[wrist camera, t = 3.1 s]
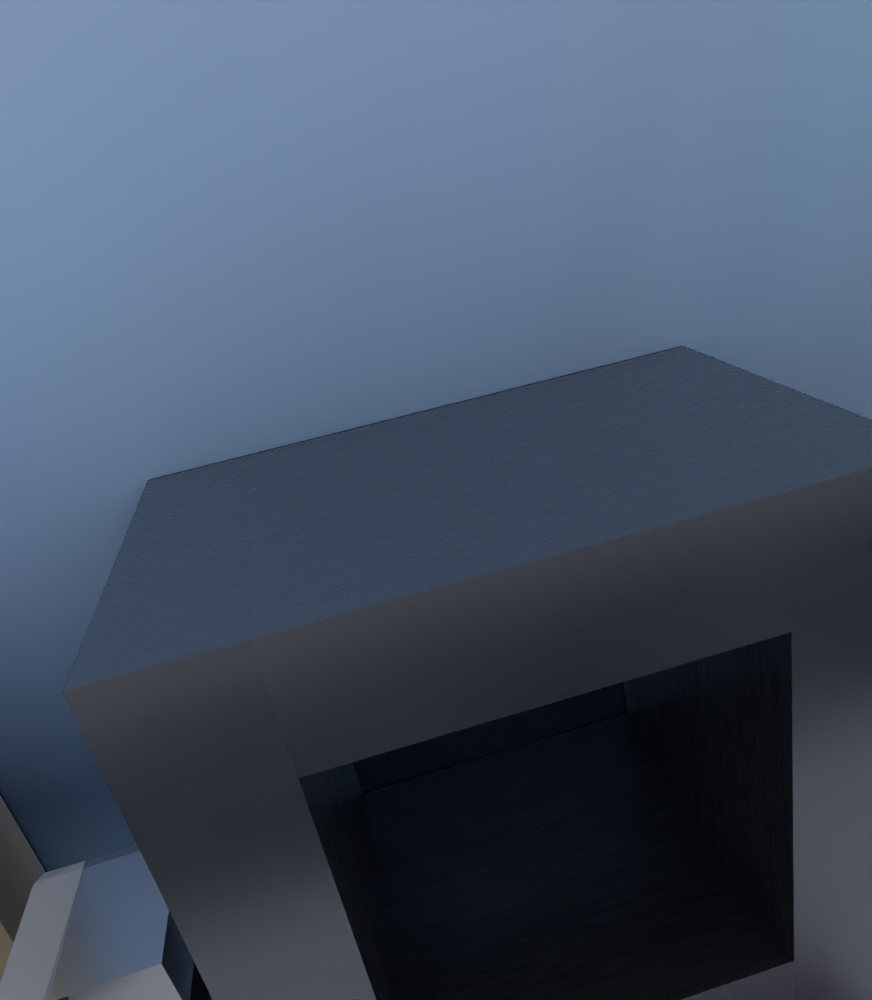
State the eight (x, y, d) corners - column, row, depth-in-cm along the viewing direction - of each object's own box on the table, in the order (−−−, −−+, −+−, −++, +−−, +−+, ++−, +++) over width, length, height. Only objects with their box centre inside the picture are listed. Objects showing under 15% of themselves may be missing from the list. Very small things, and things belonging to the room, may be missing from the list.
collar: (684, 345, 9) (942, 449, 6) (709, 753, 12) (899, 999, 8) (148, 480, 9) (62, 692, 5) (299, 881, 11) (314, 1207, 8)
